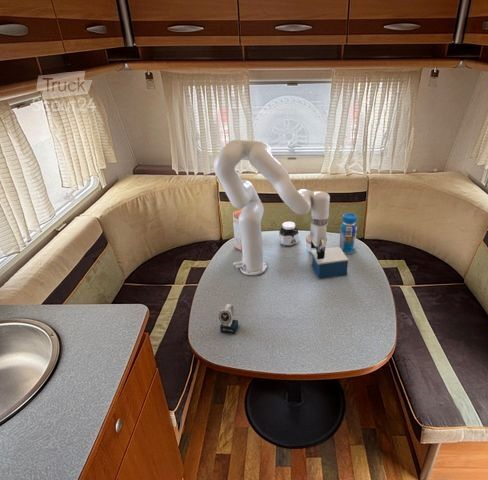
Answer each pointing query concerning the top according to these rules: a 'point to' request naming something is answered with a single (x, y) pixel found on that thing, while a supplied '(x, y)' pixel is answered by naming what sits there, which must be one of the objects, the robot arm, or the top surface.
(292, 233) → the spread jar
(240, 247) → the cracker box
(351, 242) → the beverage bottle
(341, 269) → the case
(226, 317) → the watch
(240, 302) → the top surface
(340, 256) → the lid
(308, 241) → the trinket box
